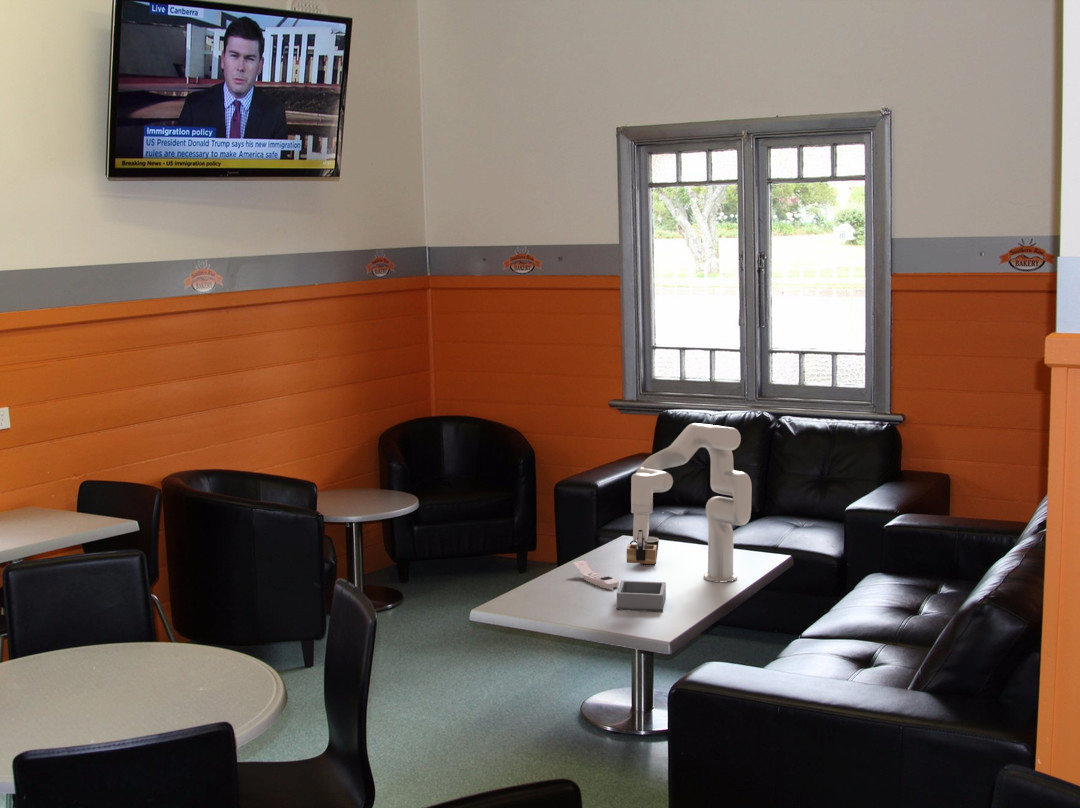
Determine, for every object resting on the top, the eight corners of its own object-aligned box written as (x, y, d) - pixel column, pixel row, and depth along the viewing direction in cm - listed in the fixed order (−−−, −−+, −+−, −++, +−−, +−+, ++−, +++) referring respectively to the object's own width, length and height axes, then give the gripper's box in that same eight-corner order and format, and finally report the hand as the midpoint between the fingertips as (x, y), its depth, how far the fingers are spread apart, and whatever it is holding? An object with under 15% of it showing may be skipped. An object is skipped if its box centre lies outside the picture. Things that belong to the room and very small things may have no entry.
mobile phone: (584, 559, 445) (623, 573, 424) (584, 574, 446) (623, 589, 425) (571, 562, 442) (610, 576, 421) (572, 577, 443) (610, 592, 422)
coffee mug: (663, 564, 458) (663, 540, 457) (646, 567, 453) (646, 543, 452) (644, 558, 468) (644, 534, 466) (628, 561, 463) (628, 537, 462)
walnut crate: (628, 557, 408) (628, 544, 408) (656, 558, 407) (656, 545, 406) (626, 562, 402) (626, 548, 401) (655, 563, 400) (655, 550, 399)
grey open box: (621, 596, 415) (621, 580, 415) (665, 598, 413) (665, 582, 412) (616, 609, 400) (616, 593, 399) (662, 612, 397) (662, 595, 396)
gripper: (633, 502, 411) (633, 551, 413) (628, 513, 394) (628, 563, 396) (654, 503, 410) (654, 551, 412) (650, 513, 393) (650, 564, 395)
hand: (641, 557), depth 404 cm, fingers closed on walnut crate, 7 cm apart
